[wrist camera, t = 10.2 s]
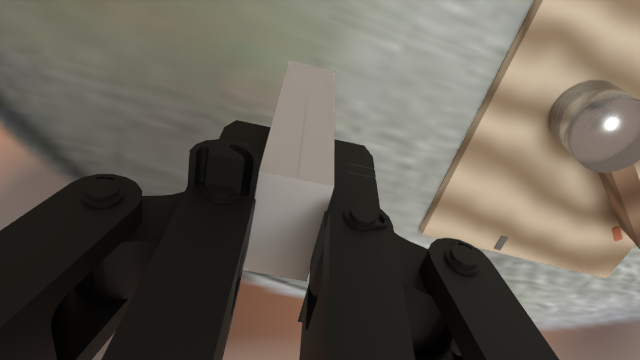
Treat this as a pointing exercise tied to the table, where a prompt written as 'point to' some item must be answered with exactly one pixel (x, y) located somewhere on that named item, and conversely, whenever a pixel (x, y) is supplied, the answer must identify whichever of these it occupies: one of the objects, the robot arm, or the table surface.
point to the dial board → (542, 144)
